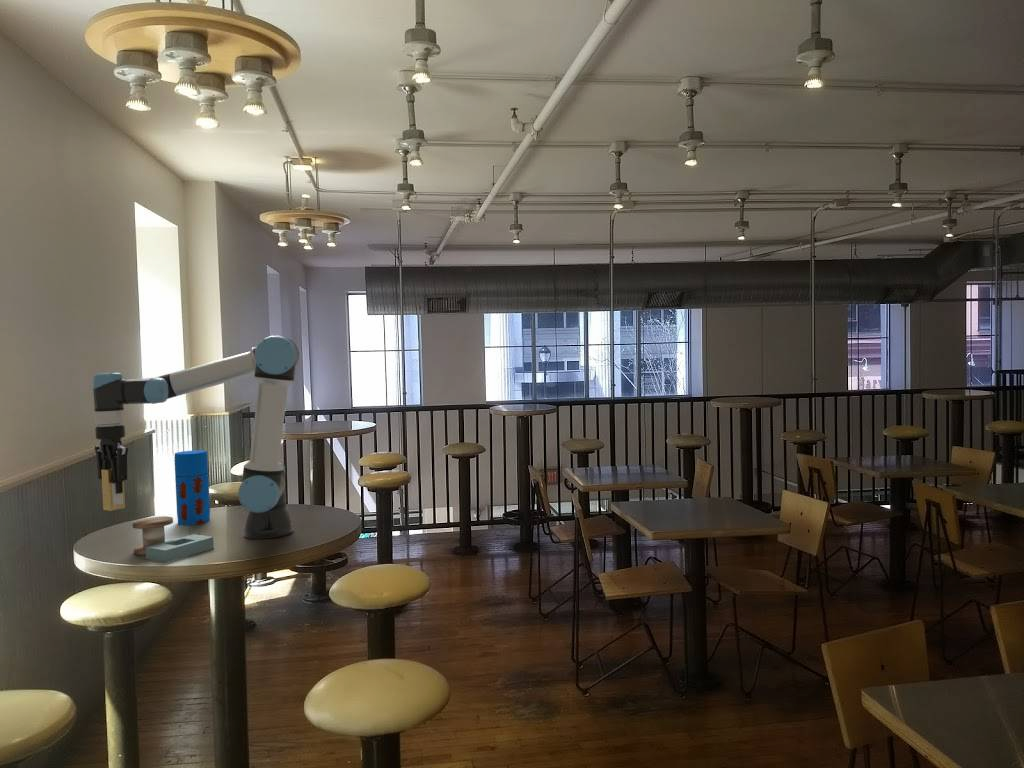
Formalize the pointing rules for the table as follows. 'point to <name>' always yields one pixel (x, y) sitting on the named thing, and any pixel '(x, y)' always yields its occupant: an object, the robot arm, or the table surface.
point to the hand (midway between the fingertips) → (114, 503)
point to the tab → (109, 491)
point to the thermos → (192, 487)
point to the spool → (151, 531)
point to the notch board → (179, 548)
